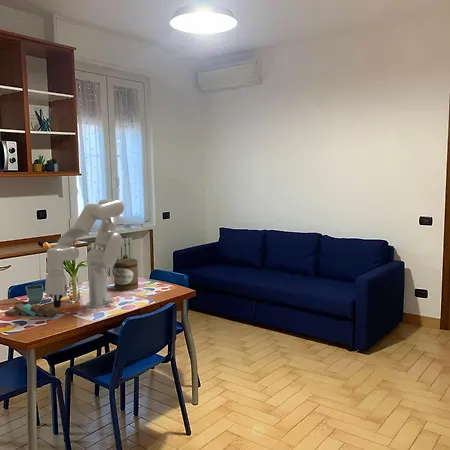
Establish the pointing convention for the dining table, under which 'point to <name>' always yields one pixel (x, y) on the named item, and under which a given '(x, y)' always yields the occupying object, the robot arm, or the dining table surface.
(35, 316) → the felt runner
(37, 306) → the domino
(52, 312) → the domino
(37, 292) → the flower pot
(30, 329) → the dining table surface
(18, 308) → the domino
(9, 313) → the domino
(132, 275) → the wooden container
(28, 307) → the teal domino
